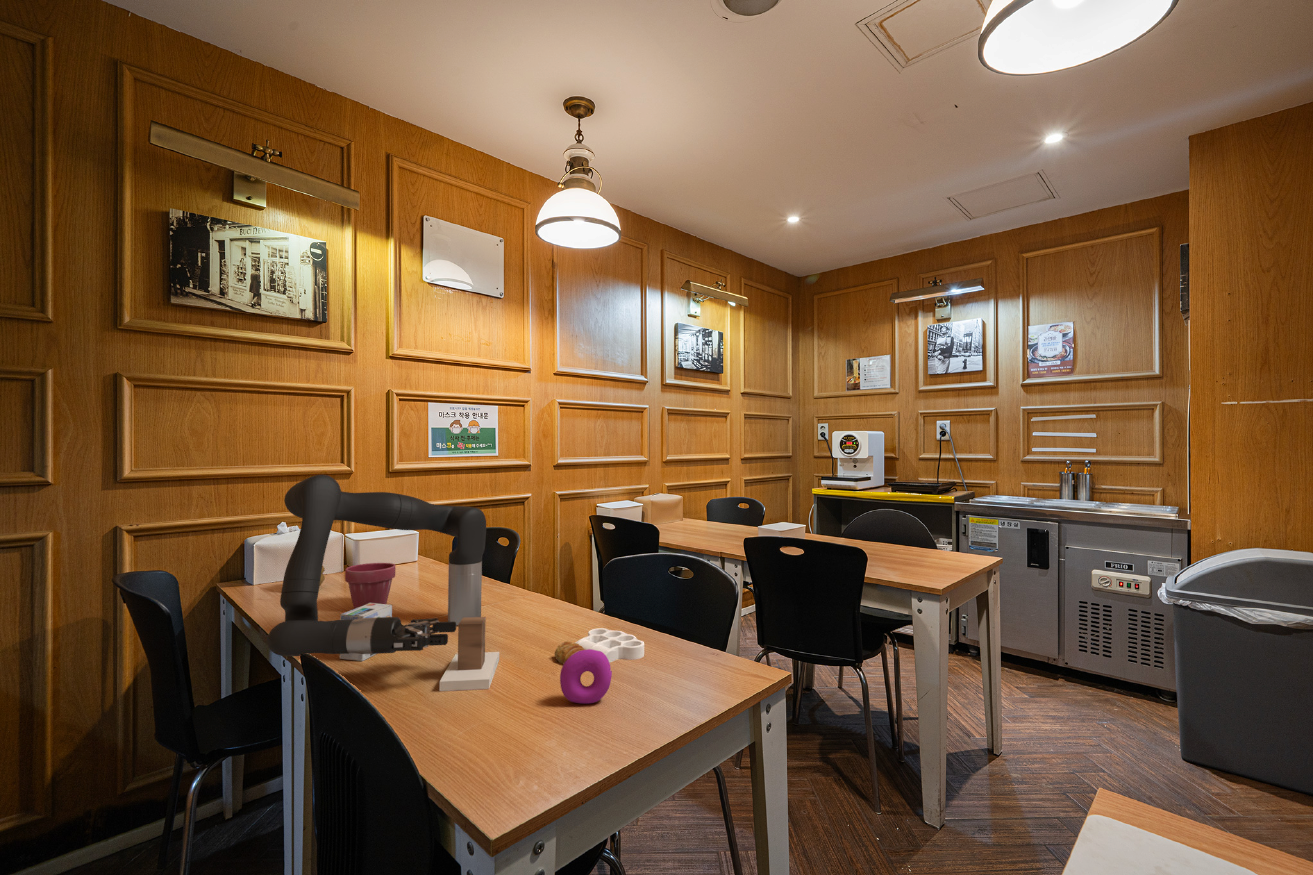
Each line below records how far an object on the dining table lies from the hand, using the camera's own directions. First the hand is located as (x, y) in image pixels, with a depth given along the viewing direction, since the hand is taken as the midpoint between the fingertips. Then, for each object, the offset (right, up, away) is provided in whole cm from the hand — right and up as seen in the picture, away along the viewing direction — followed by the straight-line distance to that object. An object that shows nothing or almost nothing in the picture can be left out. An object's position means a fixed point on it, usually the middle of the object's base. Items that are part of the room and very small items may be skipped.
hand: (451, 632), depth 125 cm
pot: (-78, -10, +72) cm, 107 cm away
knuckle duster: (+34, -11, +16) cm, 39 cm away
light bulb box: (-26, -10, +13) cm, 31 cm away
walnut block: (+4, -8, +1) cm, 9 cm away
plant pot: (-45, -10, +52) cm, 69 cm away
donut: (+31, -10, -12) cm, 35 cm away
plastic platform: (+4, -10, +1) cm, 10 cm away
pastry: (+25, -10, +10) cm, 29 cm away
